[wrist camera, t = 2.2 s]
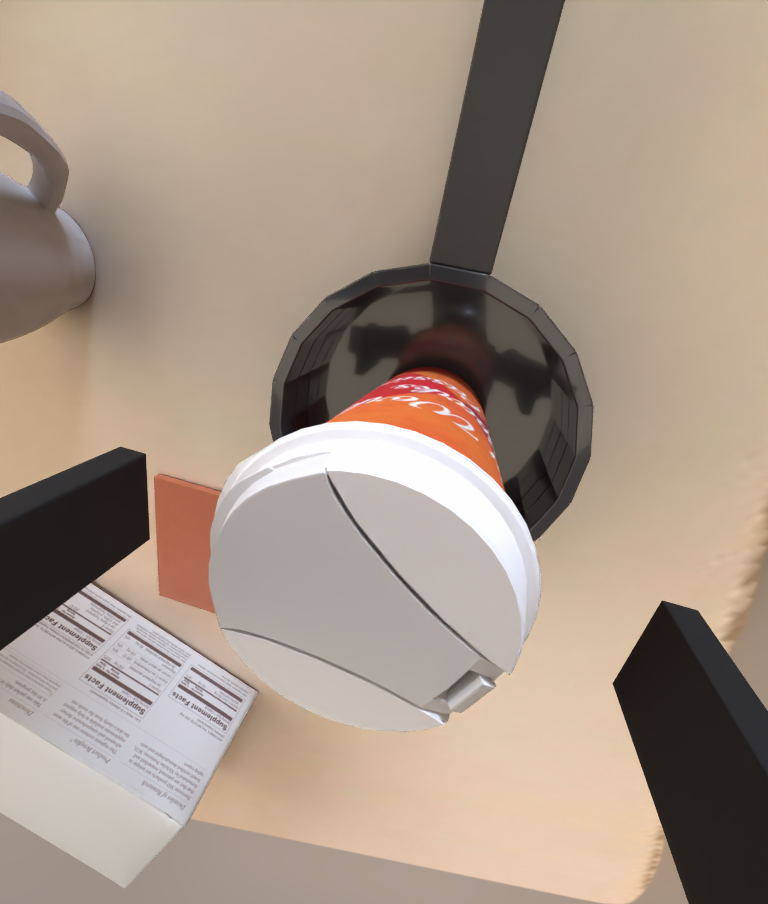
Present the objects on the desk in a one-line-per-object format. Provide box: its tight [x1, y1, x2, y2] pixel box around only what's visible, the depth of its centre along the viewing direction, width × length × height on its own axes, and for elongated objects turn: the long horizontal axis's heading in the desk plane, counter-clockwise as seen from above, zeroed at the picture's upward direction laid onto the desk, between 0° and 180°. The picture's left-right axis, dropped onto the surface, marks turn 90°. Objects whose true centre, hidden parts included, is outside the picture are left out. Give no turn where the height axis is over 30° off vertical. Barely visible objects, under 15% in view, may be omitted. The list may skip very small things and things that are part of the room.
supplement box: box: [0, 583, 258, 888], centre depth 31 cm, size 17×13×9 cm
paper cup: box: [209, 367, 541, 732], centre depth 15 cm, size 8×8×14 cm
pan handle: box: [430, 0, 565, 275], centre depth 14 cm, size 10×2×1 cm, turn 169°
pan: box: [269, 263, 593, 542], centre depth 20 cm, size 14×14×4 cm
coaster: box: [154, 474, 221, 613], centre depth 28 cm, size 10×10×1 cm
